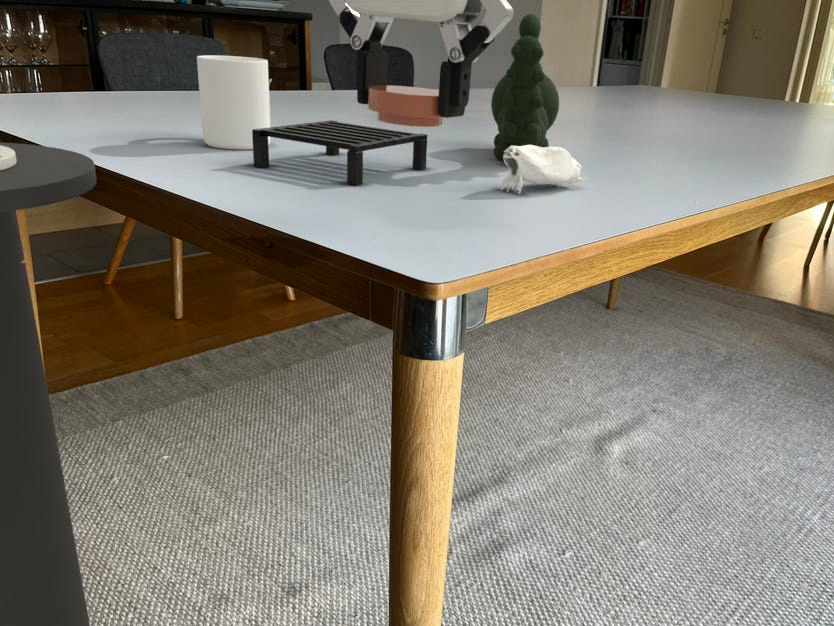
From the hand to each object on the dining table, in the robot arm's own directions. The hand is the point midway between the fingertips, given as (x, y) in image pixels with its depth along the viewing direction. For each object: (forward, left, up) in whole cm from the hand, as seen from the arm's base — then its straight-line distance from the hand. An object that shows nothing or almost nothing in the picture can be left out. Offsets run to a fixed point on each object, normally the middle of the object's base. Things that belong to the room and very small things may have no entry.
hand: (410, 107), depth 61 cm
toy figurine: (+43, +9, -10) cm, 45 cm away
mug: (+21, +40, -10) cm, 47 cm away
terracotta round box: (0, 0, -1) cm, 1 cm away
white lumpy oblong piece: (+25, -2, -10) cm, 27 cm away
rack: (+18, +20, -10) cm, 29 cm away
